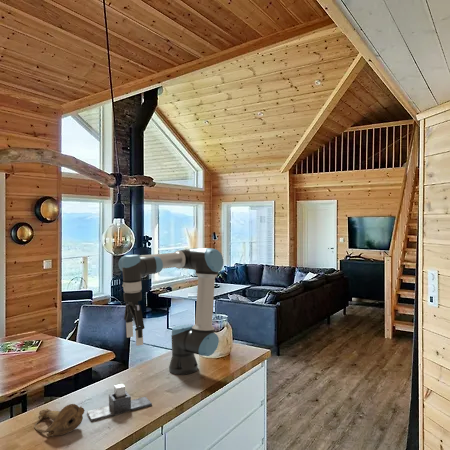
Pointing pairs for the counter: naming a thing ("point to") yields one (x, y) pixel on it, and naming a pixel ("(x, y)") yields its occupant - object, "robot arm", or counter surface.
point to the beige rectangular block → (119, 391)
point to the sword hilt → (62, 420)
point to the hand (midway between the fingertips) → (134, 340)
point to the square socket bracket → (118, 407)
